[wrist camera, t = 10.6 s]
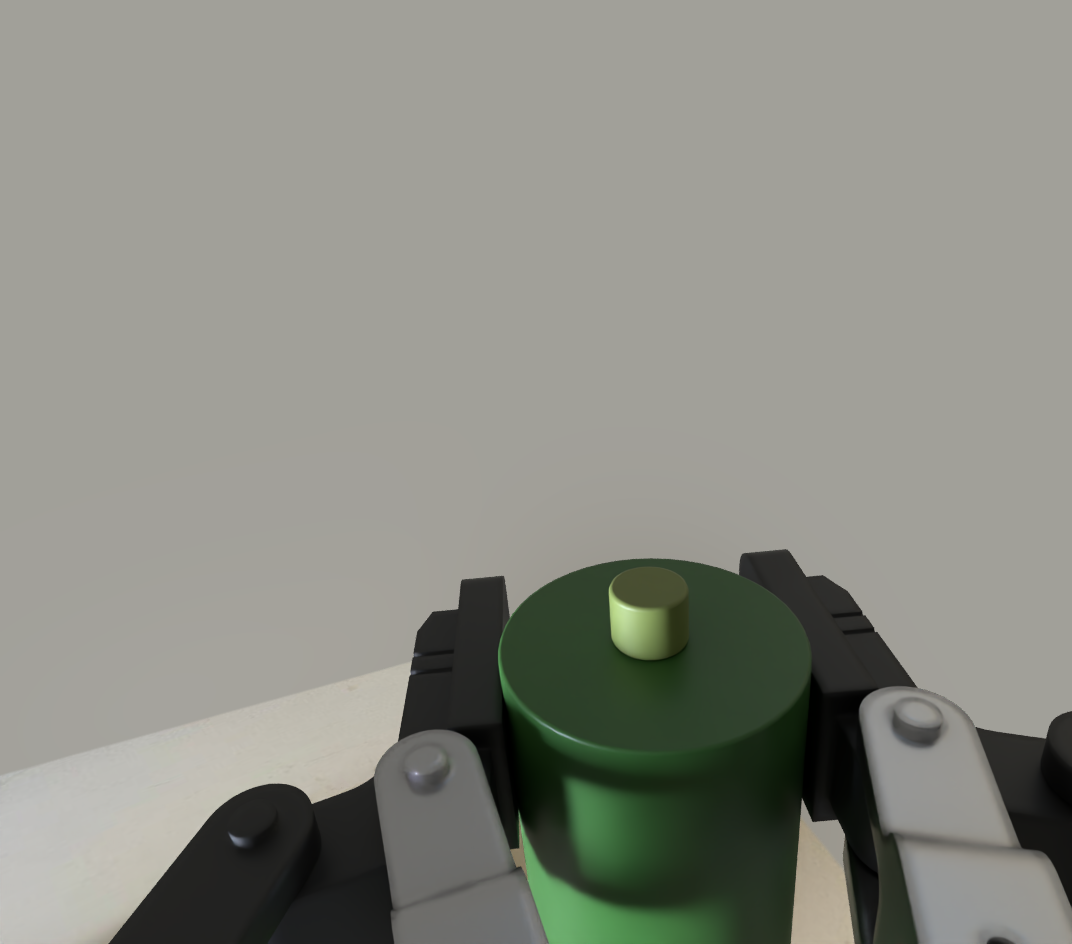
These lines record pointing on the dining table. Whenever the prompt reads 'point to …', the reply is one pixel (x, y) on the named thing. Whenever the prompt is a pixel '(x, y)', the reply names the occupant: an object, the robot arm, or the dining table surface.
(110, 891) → the dining table surface
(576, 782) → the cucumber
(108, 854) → the dining table surface
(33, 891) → the dining table surface
